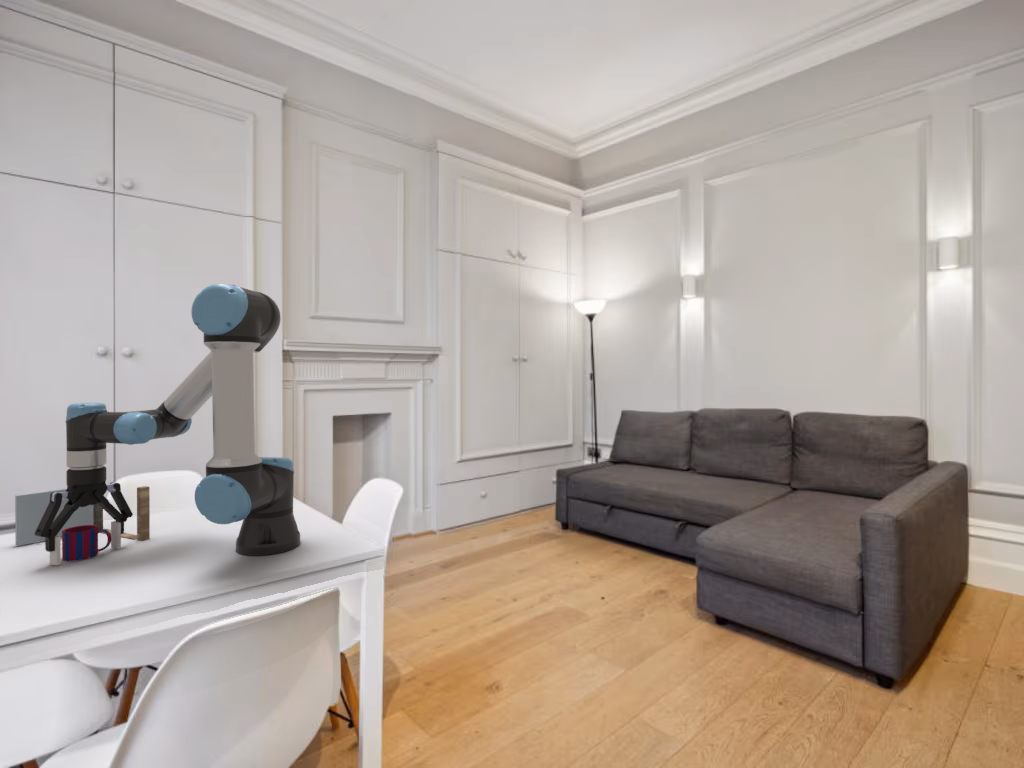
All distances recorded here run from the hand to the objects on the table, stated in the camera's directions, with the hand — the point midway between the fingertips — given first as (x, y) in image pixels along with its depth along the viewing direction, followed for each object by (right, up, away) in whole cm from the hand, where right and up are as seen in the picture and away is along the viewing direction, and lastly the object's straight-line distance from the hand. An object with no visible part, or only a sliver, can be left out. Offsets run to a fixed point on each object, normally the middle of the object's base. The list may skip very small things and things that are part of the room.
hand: (86, 555), depth 128 cm
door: (-19, +1, +14) cm, 24 cm away
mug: (0, 0, 0) cm, 0 cm away
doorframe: (-7, 0, +18) cm, 19 cm away
